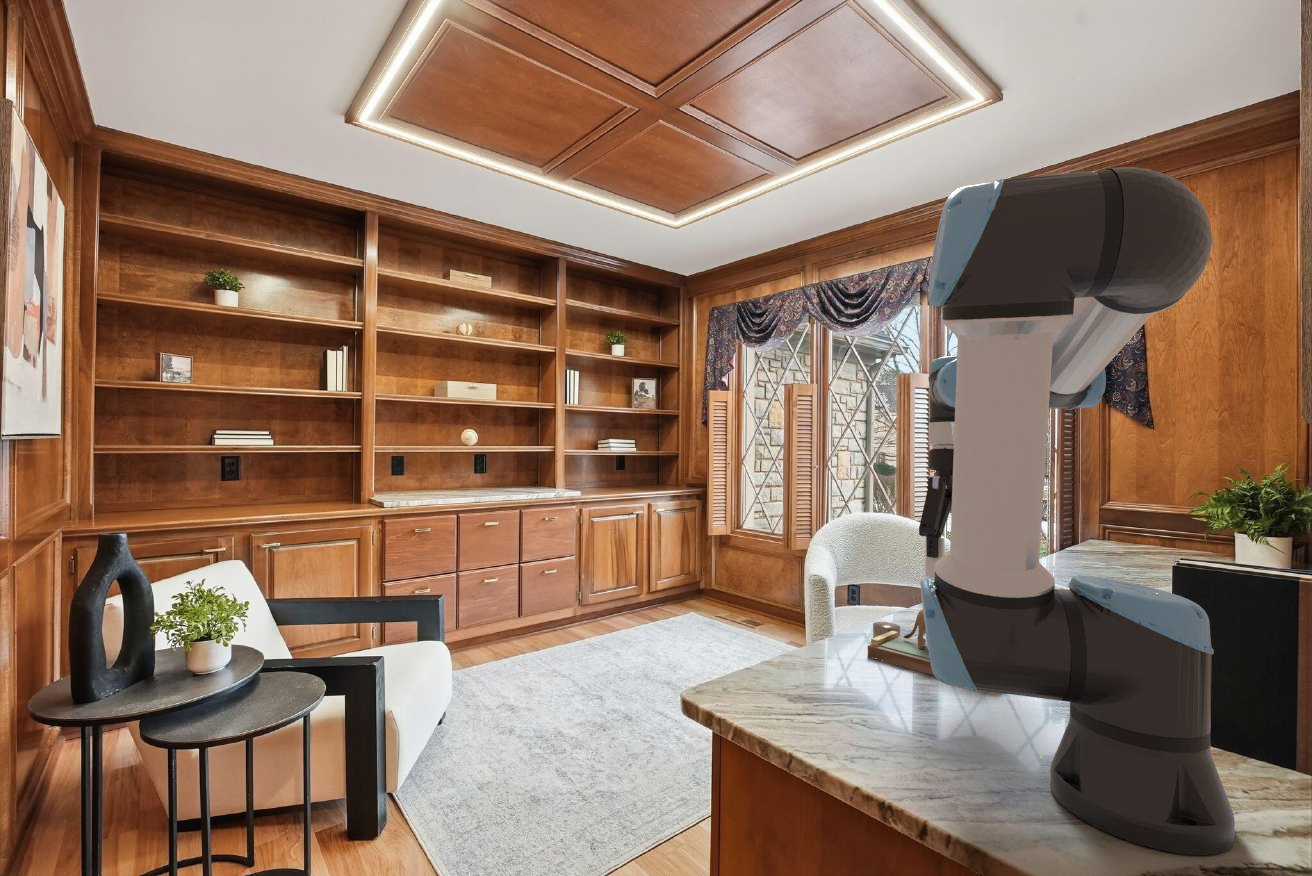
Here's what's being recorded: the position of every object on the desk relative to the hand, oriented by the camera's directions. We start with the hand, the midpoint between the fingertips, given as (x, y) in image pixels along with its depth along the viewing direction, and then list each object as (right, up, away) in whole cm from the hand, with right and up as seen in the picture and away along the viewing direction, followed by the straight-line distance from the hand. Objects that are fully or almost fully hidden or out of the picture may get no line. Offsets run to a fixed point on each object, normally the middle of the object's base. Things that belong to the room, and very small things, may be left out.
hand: (951, 573), depth 106 cm
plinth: (-2, -16, +2) cm, 17 cm away
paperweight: (-5, -17, +16) cm, 24 cm away
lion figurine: (0, -14, +2) cm, 15 cm away
